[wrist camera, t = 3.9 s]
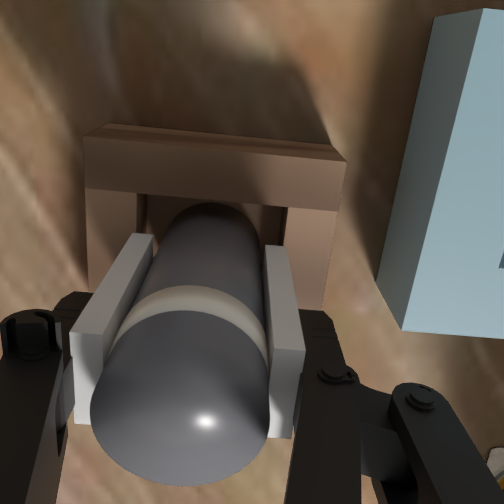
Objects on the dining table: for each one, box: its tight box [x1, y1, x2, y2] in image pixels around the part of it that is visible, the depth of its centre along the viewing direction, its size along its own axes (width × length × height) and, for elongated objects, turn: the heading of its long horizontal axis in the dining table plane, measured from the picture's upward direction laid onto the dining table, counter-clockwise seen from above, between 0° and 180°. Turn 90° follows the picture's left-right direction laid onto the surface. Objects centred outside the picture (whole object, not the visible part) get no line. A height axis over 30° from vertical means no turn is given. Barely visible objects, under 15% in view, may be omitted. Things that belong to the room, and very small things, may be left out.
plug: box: [90, 202, 270, 486], centre depth 15 cm, size 4×4×10 cm
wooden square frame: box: [83, 123, 347, 311], centre depth 20 cm, size 9×9×3 cm
